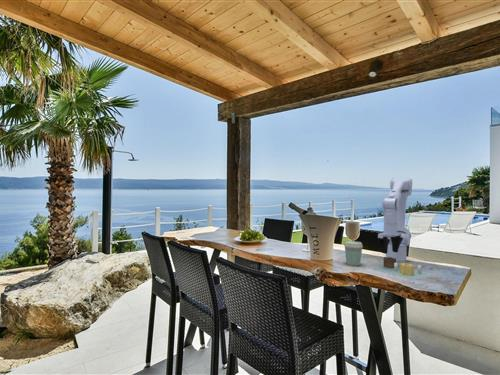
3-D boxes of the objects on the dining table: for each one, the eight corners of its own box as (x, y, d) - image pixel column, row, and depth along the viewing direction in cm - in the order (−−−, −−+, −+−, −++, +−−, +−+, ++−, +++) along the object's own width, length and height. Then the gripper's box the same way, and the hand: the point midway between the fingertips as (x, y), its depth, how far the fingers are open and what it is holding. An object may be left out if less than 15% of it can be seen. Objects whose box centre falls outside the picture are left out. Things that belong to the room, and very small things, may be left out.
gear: (380, 266, 143) (381, 257, 143) (388, 264, 145) (388, 256, 145) (391, 268, 138) (391, 260, 138) (398, 267, 141) (398, 259, 141)
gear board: (367, 270, 140) (368, 259, 140) (390, 266, 148) (390, 256, 148) (413, 283, 121) (413, 271, 121) (436, 278, 129) (436, 267, 129)
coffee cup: (366, 269, 142) (366, 243, 142) (349, 269, 141) (349, 244, 141) (356, 264, 150) (357, 240, 150) (340, 265, 149) (341, 240, 149)
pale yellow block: (399, 274, 129) (399, 264, 129) (400, 271, 134) (400, 262, 134) (413, 276, 126) (413, 266, 126) (414, 273, 131) (414, 264, 131)
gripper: (387, 225, 135) (387, 255, 135) (408, 224, 142) (407, 253, 142) (374, 223, 141) (373, 252, 141) (394, 222, 148) (394, 250, 148)
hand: (389, 252), depth 142 cm, fingers open, 7 cm apart
